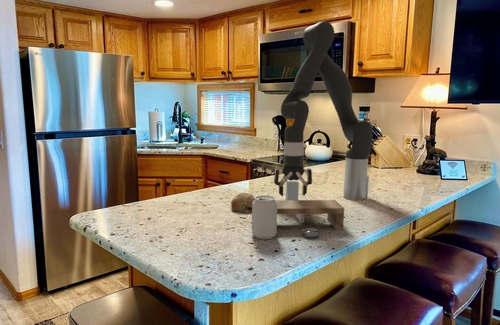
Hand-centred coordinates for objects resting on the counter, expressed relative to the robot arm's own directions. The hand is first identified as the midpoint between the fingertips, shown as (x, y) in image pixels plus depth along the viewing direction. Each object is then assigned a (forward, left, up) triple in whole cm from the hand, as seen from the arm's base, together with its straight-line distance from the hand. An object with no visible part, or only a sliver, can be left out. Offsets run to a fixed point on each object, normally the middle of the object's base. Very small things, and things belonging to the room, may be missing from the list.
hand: (292, 195), depth 142 cm
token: (0, +31, -5) cm, 32 cm away
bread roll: (+19, +1, -5) cm, 20 cm away
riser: (0, +21, -5) cm, 21 cm away
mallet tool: (0, +8, -5) cm, 10 cm away
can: (+14, +31, -5) cm, 34 cm away
